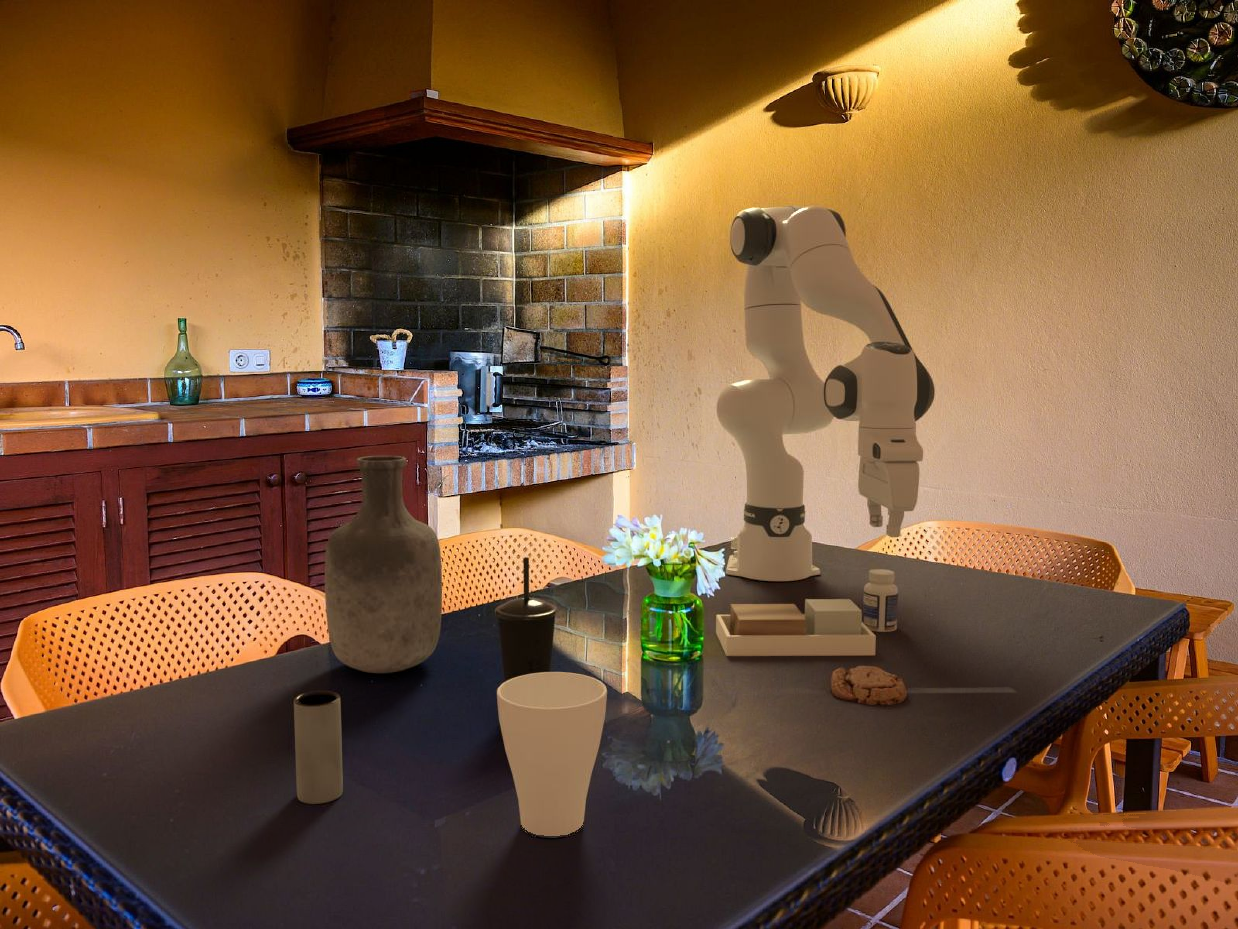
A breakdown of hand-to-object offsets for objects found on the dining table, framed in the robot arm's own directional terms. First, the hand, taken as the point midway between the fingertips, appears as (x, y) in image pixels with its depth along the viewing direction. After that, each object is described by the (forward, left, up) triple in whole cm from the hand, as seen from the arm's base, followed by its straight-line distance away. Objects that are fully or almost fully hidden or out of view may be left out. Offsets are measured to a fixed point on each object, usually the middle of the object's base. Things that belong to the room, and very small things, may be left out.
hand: (884, 531), depth 165 cm
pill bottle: (0, 0, -17) cm, 17 cm away
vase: (+18, -76, -17) cm, 80 cm away
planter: (+59, -75, -17) cm, 97 cm away
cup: (+66, -51, -17) cm, 85 cm away
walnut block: (+9, -20, -16) cm, 27 cm away
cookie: (+29, -10, -17) cm, 35 cm away
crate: (+9, -16, -16) cm, 24 cm away
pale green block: (+9, -10, -16) cm, 21 cm away
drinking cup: (+37, -55, -17) cm, 68 cm away
